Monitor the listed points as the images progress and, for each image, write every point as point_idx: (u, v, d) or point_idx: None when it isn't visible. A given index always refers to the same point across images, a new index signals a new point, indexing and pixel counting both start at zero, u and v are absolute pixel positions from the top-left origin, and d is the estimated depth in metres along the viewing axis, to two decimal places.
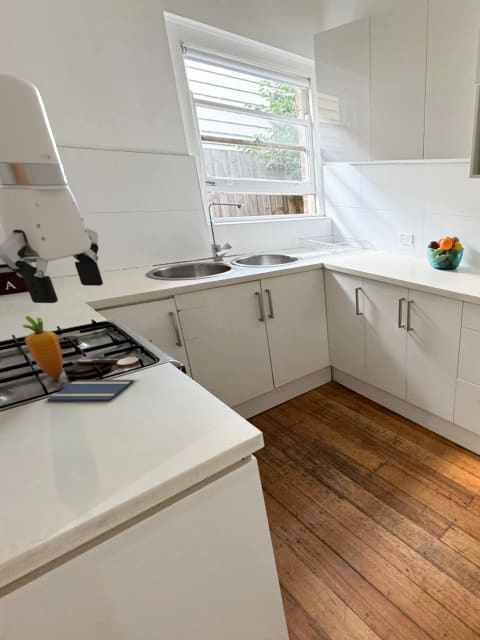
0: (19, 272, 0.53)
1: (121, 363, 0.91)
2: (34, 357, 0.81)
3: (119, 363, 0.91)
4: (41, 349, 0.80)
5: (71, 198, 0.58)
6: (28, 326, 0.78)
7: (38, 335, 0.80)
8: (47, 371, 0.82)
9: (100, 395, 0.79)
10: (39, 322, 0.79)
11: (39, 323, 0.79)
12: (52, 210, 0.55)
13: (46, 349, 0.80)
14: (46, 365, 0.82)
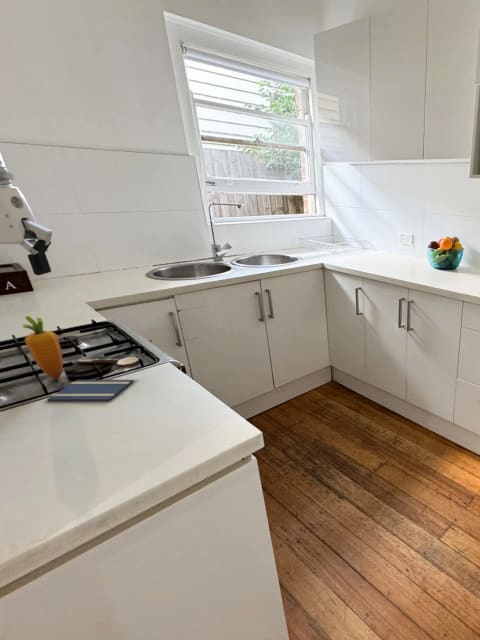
0: None
1: (121, 363, 0.91)
2: (34, 357, 0.81)
3: (119, 363, 0.91)
4: (41, 349, 0.80)
5: None
6: (28, 326, 0.78)
7: (38, 335, 0.80)
8: (47, 371, 0.82)
9: (100, 395, 0.79)
10: (39, 322, 0.79)
11: (39, 323, 0.79)
12: None
13: (46, 349, 0.80)
14: (46, 365, 0.82)
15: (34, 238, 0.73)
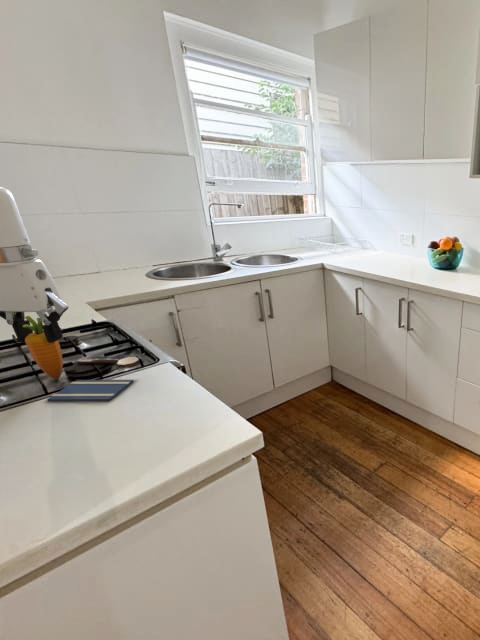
0: None
1: (121, 363, 0.91)
2: (34, 357, 0.81)
3: (119, 363, 0.91)
4: (41, 349, 0.80)
5: (20, 272, 0.73)
6: (28, 326, 0.78)
7: (38, 335, 0.80)
8: (47, 371, 0.82)
9: (100, 395, 0.79)
10: (39, 322, 0.79)
11: (39, 323, 0.79)
12: None
13: (46, 349, 0.80)
14: (46, 365, 0.82)
15: None
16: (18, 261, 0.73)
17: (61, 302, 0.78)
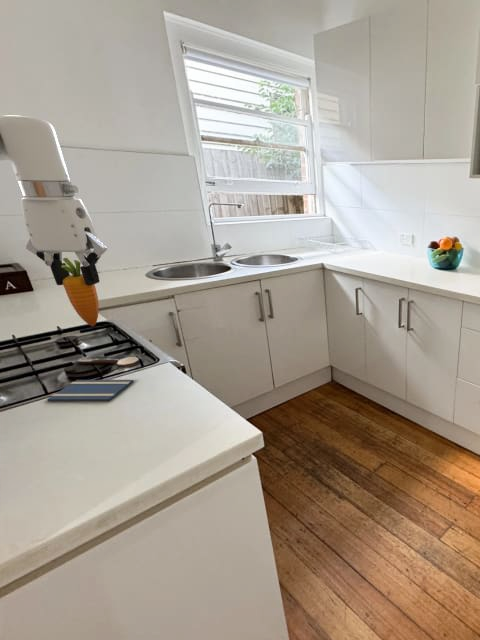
0: None
1: (121, 363, 0.91)
2: (71, 300, 0.79)
3: (119, 363, 0.91)
4: (79, 291, 0.79)
5: (61, 208, 0.72)
6: (66, 267, 0.77)
7: (76, 277, 0.78)
8: (84, 316, 0.81)
9: (100, 395, 0.79)
10: (77, 263, 0.77)
11: (77, 264, 0.78)
12: (38, 215, 0.72)
13: (84, 292, 0.79)
14: (83, 309, 0.80)
15: None
16: (59, 196, 0.72)
17: (100, 243, 0.77)
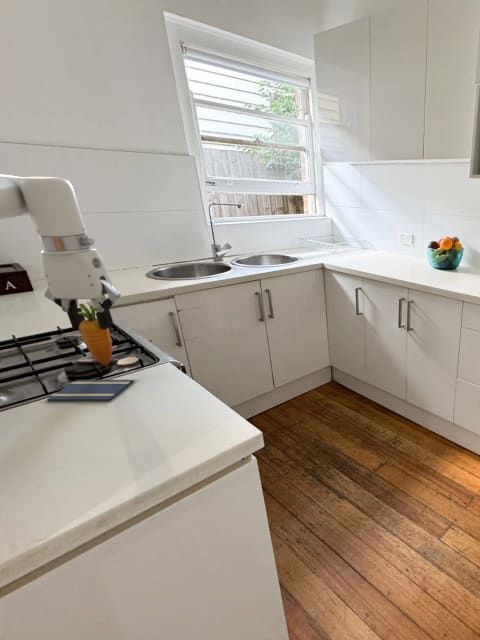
0: None
1: (121, 363, 0.91)
2: (87, 343, 0.83)
3: (119, 363, 0.91)
4: (94, 335, 0.83)
5: (78, 260, 0.76)
6: (82, 313, 0.81)
7: (91, 322, 0.82)
8: (98, 357, 0.85)
9: (100, 395, 0.79)
10: (93, 309, 0.81)
11: (93, 310, 0.82)
12: (56, 267, 0.76)
13: (99, 335, 0.83)
14: (98, 351, 0.84)
15: None
16: (77, 249, 0.76)
17: (114, 290, 0.81)
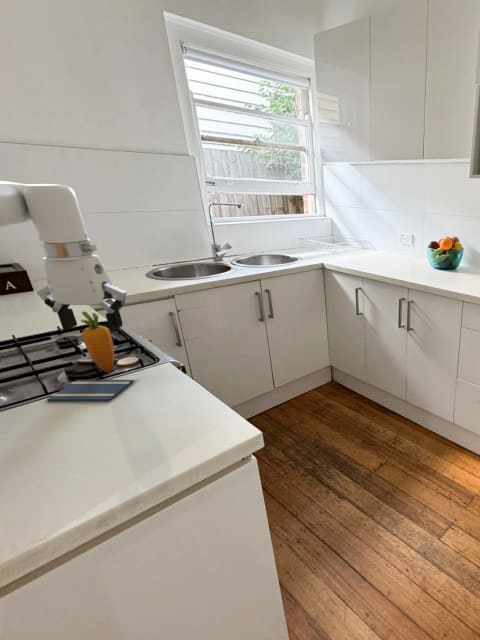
0: None
1: (121, 363, 0.91)
2: (89, 351, 0.84)
3: (119, 363, 0.91)
4: (97, 343, 0.83)
5: (81, 266, 0.77)
6: (85, 321, 0.82)
7: (94, 330, 0.83)
8: (101, 364, 0.86)
9: (100, 395, 0.79)
10: (95, 317, 0.82)
11: (95, 318, 0.82)
12: (58, 273, 0.77)
13: (101, 343, 0.84)
14: (100, 358, 0.85)
15: (110, 298, 0.83)
16: (79, 256, 0.76)
17: (118, 289, 0.81)
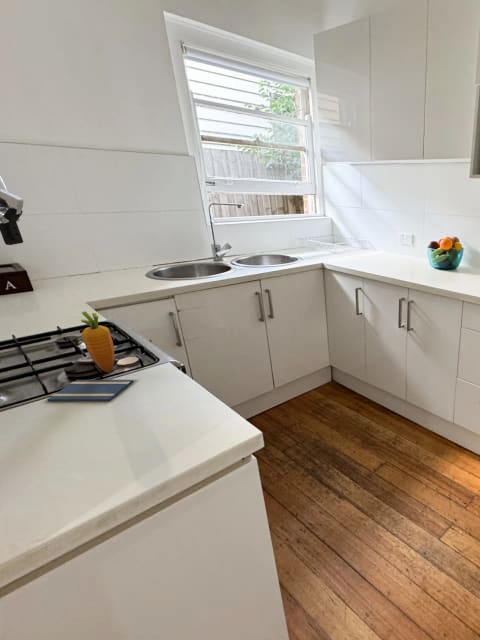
0: None
1: (121, 363, 0.91)
2: (89, 351, 0.84)
3: (119, 363, 0.91)
4: (97, 343, 0.83)
5: None
6: (85, 321, 0.82)
7: (94, 330, 0.83)
8: (101, 364, 0.86)
9: (100, 395, 0.79)
10: (95, 317, 0.82)
11: (95, 318, 0.82)
12: None
13: (101, 343, 0.84)
14: (100, 358, 0.85)
15: (5, 207, 0.72)
16: None
17: (13, 195, 0.70)
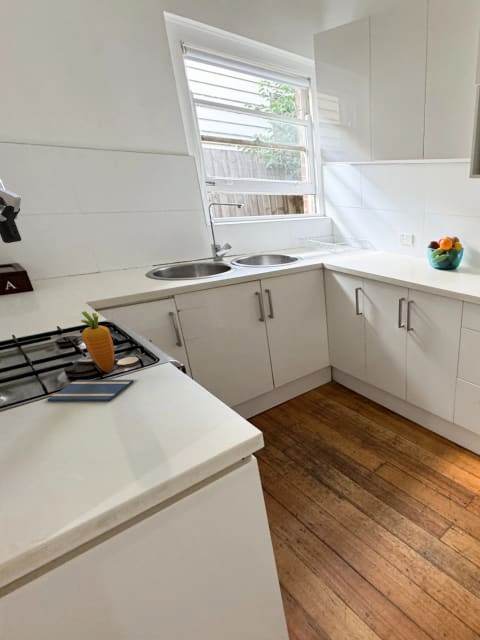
0: None
1: (121, 363, 0.91)
2: (89, 351, 0.84)
3: (119, 363, 0.91)
4: (97, 343, 0.83)
5: None
6: (85, 321, 0.82)
7: (94, 330, 0.83)
8: (101, 364, 0.86)
9: (100, 395, 0.79)
10: (95, 317, 0.82)
11: (95, 318, 0.82)
12: None
13: (101, 343, 0.84)
14: (100, 358, 0.85)
15: (2, 205, 0.71)
16: None
17: (10, 192, 0.70)
